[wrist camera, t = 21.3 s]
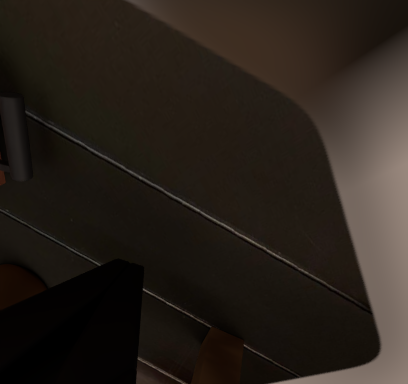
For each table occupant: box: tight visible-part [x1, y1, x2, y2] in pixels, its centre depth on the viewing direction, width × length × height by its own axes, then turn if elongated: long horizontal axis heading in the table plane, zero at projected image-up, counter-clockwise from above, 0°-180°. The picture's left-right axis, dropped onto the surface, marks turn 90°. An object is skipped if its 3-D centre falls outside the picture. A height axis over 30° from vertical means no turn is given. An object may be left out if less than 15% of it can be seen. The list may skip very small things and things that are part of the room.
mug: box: [0, 264, 47, 310], centre depth 28 cm, size 12×8×9 cm, turn 48°
